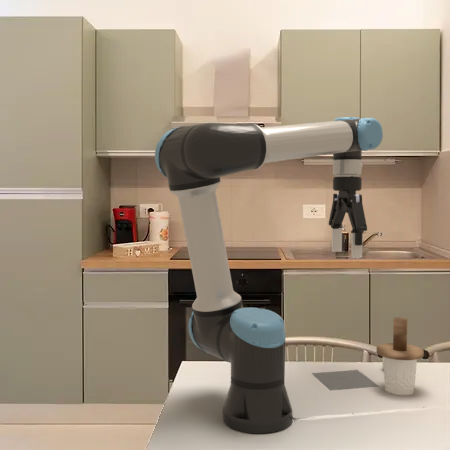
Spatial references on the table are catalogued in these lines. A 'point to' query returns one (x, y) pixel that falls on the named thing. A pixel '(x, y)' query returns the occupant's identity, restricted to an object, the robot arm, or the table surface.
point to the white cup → (399, 376)
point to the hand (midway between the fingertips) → (346, 254)
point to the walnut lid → (400, 344)
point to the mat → (344, 380)
